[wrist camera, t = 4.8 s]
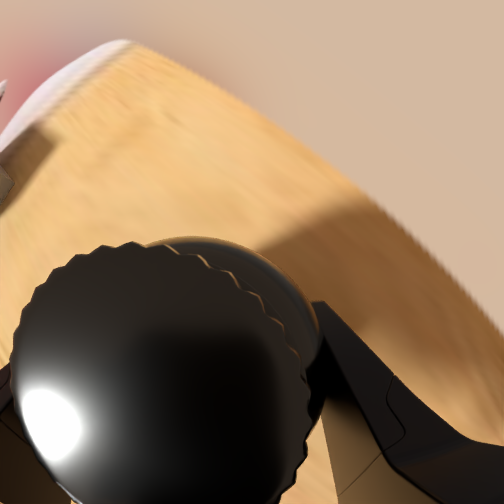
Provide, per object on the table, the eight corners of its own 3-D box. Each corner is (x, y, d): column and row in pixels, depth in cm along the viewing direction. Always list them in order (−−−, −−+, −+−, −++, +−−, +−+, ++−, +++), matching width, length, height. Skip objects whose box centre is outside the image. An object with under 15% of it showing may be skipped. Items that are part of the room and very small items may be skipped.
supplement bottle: (143, 302, 16) (-46, 252, 4) (266, 259, 16) (285, 102, 4) (186, 423, 14) (68, 568, 2) (311, 384, 15) (429, 511, 3)
